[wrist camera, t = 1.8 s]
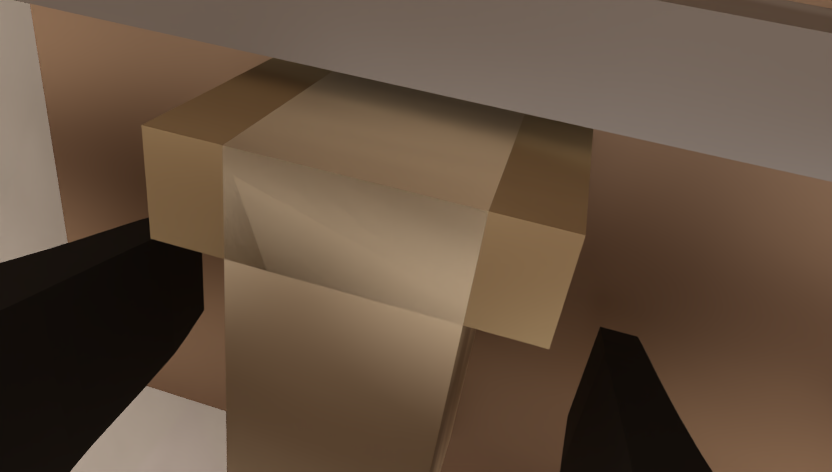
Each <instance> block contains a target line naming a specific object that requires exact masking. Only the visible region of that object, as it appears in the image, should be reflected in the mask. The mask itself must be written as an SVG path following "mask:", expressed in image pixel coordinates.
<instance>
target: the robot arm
mask: <svg viewBox="0 0 832 472" xmlns="http://www.w3.org/2000/svg"><path fill="white" fill-rule="evenodd" d="M203 311H204V291H203V262H202V253H201V252H197V251H193V250H190V249H186V248H183V247H179V246H175V245H172V244H168V243H165V242H161V241H157V240H154V239H151V237H150V224H149V217H148V218H145V219H141V220H138V221H135V222H131V223H128V224H125V225H122V226H119V227H116V228H113V229H110V230H107V231H103V232H100V233H97V234H94V235H91V236H88V237H85V238H82V239H79V240H76V241H73V242H69V243H66V244H63V245H60V246H57V247H54V248H51V249H47V250H44V251H40V252H37V253H33V254H30V255H26V256H23V257H19V258H16V259H13V260H9V261H6V262H2V263H0V472H70V471H71V470H72V468H73V467H74V466H75V465H76V464H77V462H78V461H79V460H80V459H81V458H82V456H83V455H84V454H85V453H86V452H87V451H88V449H89V448H90V447H91V446H92V445H93V444H94V442H95V441H96V440H97V439H98V438H99V437H100V436H101V435H102V434H103V433H104V432H105V430H106V429H107V428H108V427H109V426H110V425H111V424H112V423H113V422H114V421H115V419H116V418H117V417H118V416H119V415H120V414H121V413H122V412H123V411H124V410H125V409H126V407H127V406H128V405H129V404H130V403H131V402H132V401H133V400H134V399H135V398H136V397H137V395H138V394H139V393H140V392H141V391H142V390H143V389H144V388H145V387H146V386H147V384H148V383H149V382H150V381H151V380H152V379H153V378H154V377H155V376H156V374H157V373H158V372H159V371H160V370H161V369H162V368H163V367H164V365H165V364H166V363H167V362H168V361H169V360H170V359H171V357H172V356H173V355H174V354H175V353H176V351H177V350H178V348H179V347H180V346H181V344H182V343H183V341H184V340H185V339H186V337H187V336H188V334H189V333H190V331H191V330H192V328H193V327H194V325H195V324H196V322H197V320H198V319H199V317H200V316H201V314H202V313H203ZM560 472H713V471H712V470H711V468H710V467H709V465H708V464H707V462H706V461H705V459H704V457H703V456H702V454H701V452H700V451H699V449H698V447H697V446H696V444H695V442H694V441H693V439H692V437H691V435H690V434H689V432H688V430H687V428H686V427H685V425H684V423H683V421H682V420H681V418H680V416H679V414H678V413H677V411H676V409H675V407H674V405H673V404H672V402H671V400H670V398H669V396H668V394H667V392H666V390H665V388H664V386H663V385H662V383H661V381H660V379H659V377H658V375H657V373H656V371H655V369H654V367H653V365H652V363H651V361H650V359H649V357H648V355H647V353H646V351H645V349H644V347H643V345H642V343H641V341H640V340H639V338H638V337H637V336H634V335H630V334H626V333H622V332H619V331H615V330H611V329H607V328H604V327H600V328H599V331H598V334H597V336H596V339H595V342H594V345H593V347H592V350H591V353H590V356H589V358H588V361H587V364H586V367H585V369H584V372H583V375H582V378H581V380H580V383H579V386H578V389H577V391H576V394H575V397H574V400H573V402H572V405H571V408H570V411H569V413H568V417H567V424H566V431H565V437H564V444H563V452H562V459H561V467H560Z"/></svg>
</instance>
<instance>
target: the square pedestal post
mask: <svg viewBox="0 0 832 472" xmlns="http://www.w3.org/2000/svg"><path fill="white" fill-rule="evenodd" d="M141 127H142V139H143V151H144V163H145V176H146V188H147V200H148V212H149V224H150V237H151V239H154V240H157V241H161V242H165V243H168V244H172V245H175V246H179V247H183V248H186V249H190V250H193V251H197V252H201V253H204V254H208V255H211V256H215V257H219V258H222V259H224V287H225V358H226V429H227V472H440V471H441V468H442V464H443V461H444V457H445V454H446V451H447V447H448V444H449V440H450V437H451V433H452V429H453V425H454V420H455V416H456V412H457V408H458V404H459V400H460V395H461V391H462V387H463V383H464V379H465V374H466V370H467V366H468V362H469V358H470V354H471V349H472V345H473V341H474V337H475V333H476V329H478V330H481V331H485V332H488V333H492V334H495V335H499V336H503V337H506V338H510V339H513V340H517V341H521V342H524V343H528V344H531V345H535V346H539V347H542V348H546V349H550V346H551V342H552V339H553V336H554V333H555V330H556V327H557V324H558V320H559V317H560V314H561V311H562V308H563V305H564V302H565V299H566V295H567V292H568V289H569V286H570V283H571V280H572V277H573V274H574V270H575V267H576V264H577V261H578V258H579V255H580V252H581V249H582V245H583V242H584V239H585V236H586V224H587V210H588V196H589V182H590V168H591V154H592V140H593V129H592V128H587V127H583V126H578V125H574V124H569V123H565V122H560V121H556V120H551V119H547V118H542V117H538V116H533V115H529V114H524V113H520V112H515V111H511V110H506V109H502V108H497V107H493V106H488V105H484V104H479V103H475V102H470V101H466V100H461V99H457V98H452V97H448V96H443V95H439V94H434V93H430V92H425V91H421V90H416V89H412V88H407V87H403V86H398V85H394V84H389V83H385V82H380V81H376V80H371V79H367V78H362V77H358V76H353V75H349V74H344V73H340V72H335V71H331V70H326V69H322V68H317V67H313V66H308V65H304V64H299V63H295V62H290V61H286V60H281V59H277V58H271V59H269V60H267V61H265V62H264V63H262V64H260V65H258V66H256V67H254V68H252V69H250V70H248V71H246V72H244V73H242V74H240V75H238V76H236V77H234V78H232V79H230V80H228V81H226V82H224V83H223V84H221V85H219V86H217V87H215V88H213V89H211V90H209V91H207V92H205V93H203V94H201V95H199V96H197V97H195V98H193V99H191V100H189V101H187V102H185V103H184V104H182V105H180V106H178V107H176V108H174V109H172V110H170V111H168V112H166V113H164V114H162V115H160V116H158V117H156V118H154V119H152V120H150V121H148V122H146V123H144V124H143V125H141Z"/></svg>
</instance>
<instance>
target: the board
mask: <svg viewBox="0 0 832 472" xmlns="http://www.w3.org/2000/svg"><path fill="white" fill-rule="evenodd" d="M16 1H21V2H25V3H30V7H31V13H32V19H33V26H34V32H35V38H36V45H37V51H38V57H39V63H40V70H41V76H42V82H43V89H44V95H45V101H46V107H47V114H48V120H49V126H50V133H51V139H52V145H53V152H54V158H55V164H56V170H57V177H58V183H59V189H60V196H61V202H62V208H63V214H64V221H65V227H66V233H67V240H68V243H69V242H73V241H76V240H79V239H82V238H85V237H88V236H91V235H94V234H97V233H100V232H103V231H107V230H110V229H113V228H116V227H119V226H122V225H125V224H128V223H131V222H135V221H138V220H141V219H145V218H148V217H149V212H148V200H147V188H146V176H145V163H144V151H143V139H142V127H141V125H143V124H144V123H146V122H148V121H150V120H152V119H154V118H156V117H158V116H160V115H162V114H164V113H166V112H168V111H170V110H172V109H174V108H176V107H178V106H180V105H182V104H184V103H185V102H187V101H189V100H191V99H193V98H195V97H197V96H199V95H201V94H203V93H205V92H207V91H209V90H211V89H213V88H215V87H217V86H219V85H221V84H223V83H224V82H226V81H228V80H230V79H232V78H234V77H236V76H238V75H240V74H242V73H244V72H246V71H248V70H250V69H252V68H254V67H256V66H258V65H260V64H262V63H264V62H265V61H267V60H269V59H271V58H277V59H281V60H286V61H290V62H295V63H299V64H304V65H308V66H313V67H317V68H322V69H326V70H331V71H335V72H340V73H344V74H349V75H353V76H358V77H362V78H367V79H371V80H376V81H380V82H385V83H389V84H394V85H398V86H403V87H407V88H412V89H416V90H421V91H425V92H430V93H434V94H439V95H443V96H448V97H452V98H457V99H461V100H466V101H470V102H475V103H479V104H484V105H488V106H493V107H497V108H502V109H506V110H511V111H515V112H520V113H524V114H529V115H533V116H538V117H542V118H547V119H551V120H556V121H560V122H565V123H569V124H574V125H578V126H583V127H587V128H592V129H593V140H592V154H591V168H590V182H589V196H588V210H587V224H586V236H585V239H584V242H583V245H582V249H581V252H580V255H579V258H578V261H577V264H576V267H575V270H574V274H573V277H572V280H571V283H570V286H569V289H568V292H567V295H566V299H565V302H564V305H563V308H562V311H561V314H560V317H559V320H558V324H557V327H556V330H555V333H554V336H553V339H552V342H551V346H550V349H546V348H542V347H539V346H535V345H531V344H528V343H524V342H521V341H517V340H513V339H510V338H506V337H503V336H499V335H495V334H492V333H488V332H485V331H481V330H478V329H476V333H475V337H474V341H473V345H472V349H471V354H470V358H469V362H468V366H467V370H466V374H465V379H464V383H463V387H462V391H461V395H460V400H459V404H458V408H457V412H456V416H455V420H454V425H453V429H452V433H451V437H450V440H449V444H448V447H447V451H446V454H445V457H444V461H443V464H442V468H441V471H440V472H560V467H561V459H562V452H563V444H564V437H565V431H566V424H567V417H568V413H569V411H570V408H571V405H572V402H573V400H574V397H575V394H576V391H577V389H578V386H579V383H580V380H581V378H582V375H583V372H584V369H585V367H586V364H587V361H588V358H589V356H590V353H591V350H592V347H593V345H594V342H595V339H596V336H597V334H598V331H599V328H600V327H604V328H607V329H611V330H615V331H619V332H622V333H626V334H630V335H634V336H637V337H638V338H639V340H640V341H641V343H642V345H643V347H644V349H645V351H646V353H647V355H648V357H649V359H650V361H651V363H652V365H653V367H654V369H655V371H656V373H657V375H658V377H659V379H660V381H661V383H662V385H663V386H664V388H665V390H666V392H667V394H668V396H669V398H670V400H671V402H672V404H673V405H674V407H675V409H676V411H677V413H678V414H679V416H680V418H681V420H682V421H683V423H684V425H685V427H686V428H687V430H688V432H689V434H690V435H691V437H692V439H693V441H694V442H695V444H696V446H697V447H698V449H699V451H700V452H701V454H702V456H703V457H704V459H705V461H706V462H707V464H708V465H709V467H710V468H711V470H712V471H713V472H832V0H16ZM202 262H203V291H204V311H203V313H202V314H201V316H200V317H199V319H198V320H197V322H196V324H195V325H194V327H193V328H192V330H191V331H190V333H189V334H188V336H187V337H186V339H185V340H184V341H183V343H182V344H181V346H180V347H179V348H178V350H177V351H176V353H175V354H174V355H173V356H172V357H171V359H170V360H169V361H168V362H167V363H166V364H165V365H164V367H163V368H162V369H161V370H160V371H159V372H158V373H157V374H156V376H155V377H154V378H153V379H152V380H151V381H150V382H149V383H148V384H147V386H149V387H152V388H155V389H158V390H162V391H165V392H168V393H171V394H174V395H177V396H180V397H184V398H187V399H190V400H193V401H196V402H199V403H202V404H206V405H209V406H212V407H215V408H218V409H221V410H225V411H226V358H225V287H224V259H222V258H219V257H215V256H211V255H208V254H204V253H202Z"/></svg>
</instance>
